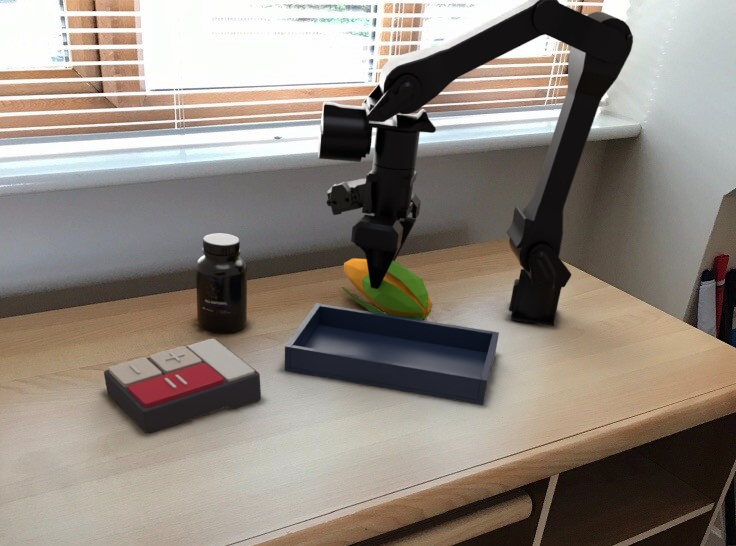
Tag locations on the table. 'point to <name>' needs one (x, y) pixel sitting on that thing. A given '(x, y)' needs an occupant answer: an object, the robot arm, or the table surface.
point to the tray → (393, 353)
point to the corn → (390, 290)
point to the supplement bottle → (221, 285)
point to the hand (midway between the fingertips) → (381, 278)
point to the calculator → (182, 384)
